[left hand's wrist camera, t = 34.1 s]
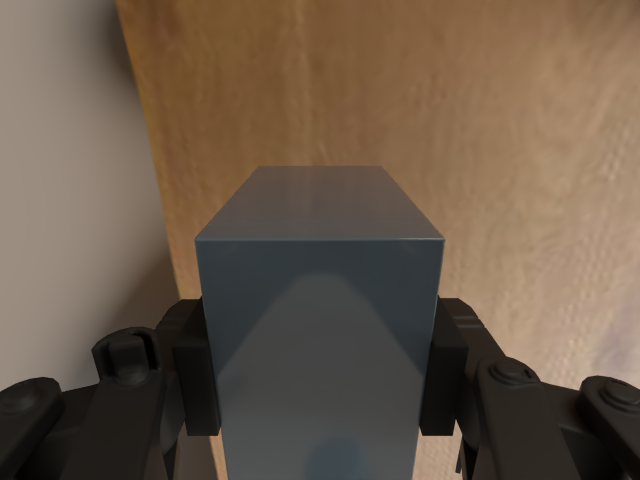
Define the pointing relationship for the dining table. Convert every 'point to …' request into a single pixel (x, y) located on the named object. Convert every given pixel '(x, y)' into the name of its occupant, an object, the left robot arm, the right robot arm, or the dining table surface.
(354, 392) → the brick
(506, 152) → the dining table surface
